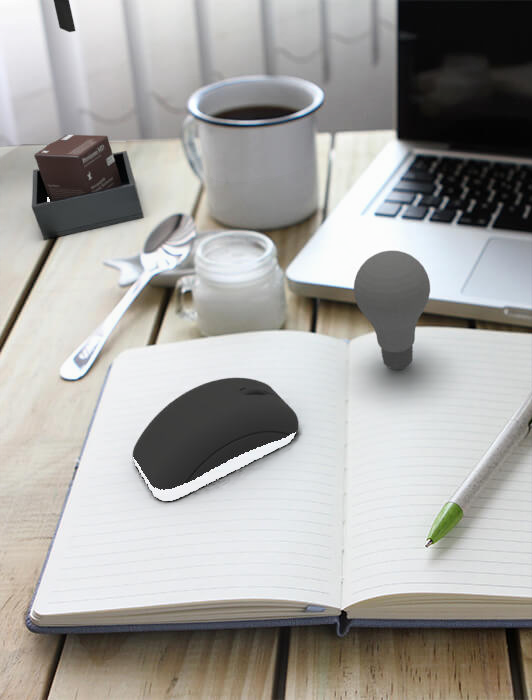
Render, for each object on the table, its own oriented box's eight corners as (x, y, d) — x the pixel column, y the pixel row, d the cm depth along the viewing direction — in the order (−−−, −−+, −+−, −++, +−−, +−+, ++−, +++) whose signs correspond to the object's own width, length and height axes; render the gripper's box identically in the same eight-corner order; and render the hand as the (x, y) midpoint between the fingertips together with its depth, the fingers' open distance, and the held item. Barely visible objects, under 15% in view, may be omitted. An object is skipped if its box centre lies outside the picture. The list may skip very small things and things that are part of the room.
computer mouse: (307, 435, 56) (299, 392, 54) (161, 508, 52) (145, 465, 49) (266, 392, 61) (258, 350, 58) (129, 456, 56) (113, 414, 54)
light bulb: (425, 393, 59) (418, 278, 53) (354, 385, 60) (340, 273, 54) (440, 349, 63) (435, 238, 57) (374, 342, 64) (362, 234, 59)
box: (97, 218, 88) (77, 156, 84) (53, 215, 90) (31, 154, 86) (126, 194, 93) (108, 134, 88) (84, 192, 95) (64, 133, 90)
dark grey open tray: (44, 201, 95) (32, 170, 92) (135, 181, 97) (126, 150, 95) (44, 240, 86) (31, 207, 84) (143, 217, 88) (134, 184, 86)
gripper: (-170, -158, 82) (-113, 53, 87) (58, -205, 80) (103, 14, 85) (-124, -132, 90) (-74, 62, 94) (86, -174, 87) (126, 26, 92)
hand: (10, 40), depth 89 cm, fingers open, 13 cm apart
